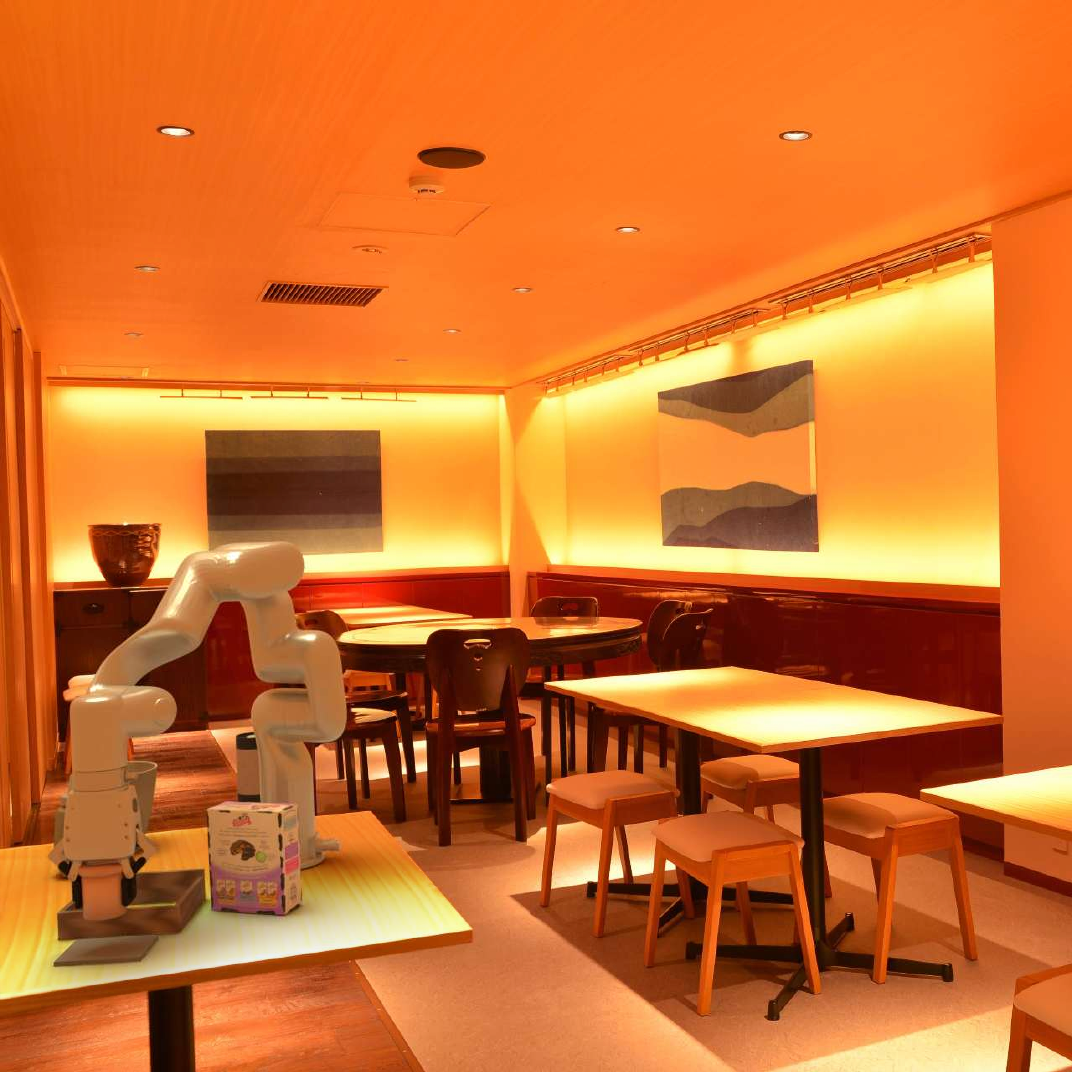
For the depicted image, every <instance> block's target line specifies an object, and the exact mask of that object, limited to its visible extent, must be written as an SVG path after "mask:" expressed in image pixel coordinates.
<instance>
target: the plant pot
mask: <svg viewBox="0 0 1072 1072" xmlns="http://www.w3.org/2000/svg"><path fill="white" fill-rule="evenodd" d="M128 765H129V768H130V770H137V771H138V778H137V780H132V781H130V783H128V785H133V786H135V790H136V794H137V798H138V803H139V809H140V816H141V824H142V833H143V834H144V835H146V832H147V829H148V826H149V821H150V817H151V814H152V808H153V803H154V797H155V791H156V782H157V772H158V764H157V763H156V762H152V761H142V760H141V761H140V760H138V761H137V760H134V761H133V760H132V761H129V760H128ZM140 850H141V849H139V850H138V851H140ZM134 853H137V851H135V852H134Z"/></svg>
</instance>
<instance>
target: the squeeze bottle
mask: <svg viewBox="0 0 1072 1072" xmlns="http://www.w3.org/2000/svg"><path fill="white" fill-rule="evenodd" d="M67 786H68V787H67V791H66V793H64V794H62V795H61V796H60V805H61V806H59V807H58V808H57V809H56V810H55V822H54V835H53V848H54V847H55V846H56V845H57V844H58V843H59V842H60V840H61V839H62V838H63V837H64V820H65V811H66V804H67V798H68V793H69V792H70V791H71V790H73V779H72V773H70V776H69V780H68V785H67ZM63 856H64V857H65V855H64V851H63ZM71 862H72V863H73V861H71ZM56 867H57V869H58V870H57V871H58V872H59V874H60V877H62V878H68V877H67V876H66V875H65V874H64V873H63V872H62V871H61V870H60V869H59V868H58V866H57V865H56Z"/></svg>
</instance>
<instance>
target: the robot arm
mask: <svg viewBox="0 0 1072 1072" xmlns="http://www.w3.org/2000/svg"><path fill="white" fill-rule="evenodd" d="M304 573H305V558H304V556H303V554H302V552H301V550H300V549H299V547H297V546H296V545H295V543H292V542H288V541H285V540H284V541H283V540H282V541H260V542H259V541H256V542H255V541H253V542H250V541H248V542H247V541H246V542H233V543H228V544H222V545H220V546H217V547H216V548H214V550H201V551H196V552H193V553H191V554H188V555H187V556H186V557H185V558H184V559H183V560H182V561H181V563H180V564H179V566H178V568H177V570H176V571H175V573H174V576H173V578H172V580H171V582H170V583H169V585H168V587H167V589H166V590H165V592H164V594H163V597H162V599H161V600H160V602H159V604H158V606H157V608H156V610H155V612H154V614H153V615H152V617H151V619H150V620H149V621H148V623H147V624H146V625H145V626H143V627H142V628H140V629H138V630H137V631H136V632H135V633H133V634H132V635H131V636H129V637H128V638H127V639H126V640H124V641H123V642H122V643H121V644H120V645H118V646H117V647H116V648H115V649H114V650H113V651H112V652H110V654H108V656H107V657H106V658H105V659H104V660H103V661H102V663H101V664H100V666H99V668H98V669H97V671H96V673H95V675H94V677H93V678H92V680H91V682H90V683H89V686H88V688H87V689H86V692H85V694H84V695H79V696H77V697H75V698H74V699H73V700H72V701H71V703H70V706H69V716H70V717H69V718H70V719H69V721H70V743H71V745H70V746H71V747H70V749H71V774H72V779H73V790H71V791H70V792H69V793H68V798H67V804H66V811H65V820H64V837H63V838H62V839H61V840H60V842H59V843H58V844H57V845H56V846H55V847H54V846H53V847H52V849H51V850H50V852H49V853H47V859H48V860H49V861H51V862H52V864H54V865H55V866H56V867H57V866H58V867H57V869H58V868H59V869H60V870H61V871H62V872H63V873H64V874H65V875H66V876H67V877H66V878H67V879H68V881H69V882H71V900H72V901H73V902H75V908H76V909H80V908H82V907H83V905H82V877H81V876H79V874H78V867H81V866H82V864H83V863H86V862H87V861H104V860H118V861H119V863H120V865H123V872H124V878H123V879H122V881H121V883H122V905H123V906H124V907H127V908H128V907H129V906H131V905H130V904H131V903H132V902H133V900H134V898H136V896H137V882H136V873H137V872H140V870H141V869H142V868H143V867H144V866H145V865H146V864H147V863H148V862H149V860H151V858H152V857H153V856H154V855H155V854H157V852H158V851H159V846H157V845H156V844H155V843H154V842H153V841H152V840H151V839H150V838H149V837H148V836H147V835H146V834H145V835H144V834H143V833H142V824H141V816H140V809H139V803H138V798H137V794H136V790H135V786H133V785H128V783H130V781H132V780H137V778H138V771H137V770H130V768H129V765H128V761H129V760H128V740H129V739H134V738H150V737H156V736H158V735H161V734H162V733H164V732H166V731H167V730H169V729H170V727H171V726H172V725H173V723H174V722H175V719H176V717H177V712H178V708H177V707H178V706H177V704H176V701H175V698H174V697H173V695H172V694H171V693H170V692H169V691H168V690H165V689H163V688H161V687H158V686H157V687H156V686H150V685H149V686H148V685H146V686H145V685H136V684H137V683H138V682H139V681H140V679H142V678H143V677H144V676H146V675H147V674H148V673H149V672H151V671H152V670H154V669H157V668H159V667H161V666H162V665H165V664H167V663H169V662H172V661H174V660H177V659H179V658H181V657H183V656H186V655H188V654H189V653H191V652H193V651H195V650H196V649H197V648H198V647H200V645H201V643H202V642H203V639H204V638H205V635H206V633H207V630H208V629H209V626H210V625H211V623H212V622H213V621H212V620H213V618H214V617H215V615H216V612H217V610H218V608H219V606H220V604H223V602H239V603H240V604H241V606H242V608H243V611H244V615H245V619H246V624H247V631H248V638H249V646H250V647H249V648H250V653H251V659H252V665H253V669H254V672H255V675H256V677H257V678H258V679H259V680H261V681H263V682H266V683H272V684H302V685H303V684H304V685H305V688H299V687H298V688H297V687H295V688H294V687H290V688H288V687H280V688H279V687H278V688H271V689H269V690H266V691H263V692H262V693H260V694H259V695H257V697H256V698H255V700H254V701H253V704H252V708H251V711H250V718H251V725H252V730H253V732H254V734H255V738H256V743H257V749H258V757H259V772H260V799H261V803H284V804H298V823H299V843H300V867H301V870H302V869H307V868H311V867H314V866H316V865H318V864H321V863H322V862H323V861H325V858H326V852H327V851H328V852H339V851H340V850H341V840H340V839H336V838H334V837H333V838H322V837H320V831H316V818H315V817H316V816H315V815H316V814H315V792H314V791H315V789H314V788H315V787H314V766H313V761H312V758H311V754H310V752H309V750H308V749H307V747H306V744H305V743H329V742H334V741H337V739H338V738H340V737H341V736H342V734H343V733H344V731H345V729H346V724H347V715H348V713H347V700H346V693H345V684H344V677H343V676H344V675H343V668H342V659H341V654H340V649H339V647H338V644H337V643H336V641H335V640H334V638H333V637H332V636H331V635H330V634H329V633H327V632H325V631H322V630H316V629H315V630H314V629H309V630H307V629H306V630H305V629H303V630H302V629H299V628H298V625H297V620H296V613H295V608H294V603H293V599H292V598H291V595H290V594H289V592H288V591H291V590H292V589H294V588H296V587H297V585H298V584H299V583H300V582H301V580H302V578H303V576H304ZM139 849H140V850H141V849H142V850H143V853H142V854H141V855H140V856H139V857H138V858H137V860H136V857H135V855H134V854H135V853H136V852H139V851H140V850H139ZM63 851H64V855H65V857H64V856H63ZM135 851H136V852H135ZM71 861H73V863H72V862H71Z"/></svg>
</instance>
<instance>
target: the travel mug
mask: <svg viewBox="0 0 1072 1072" xmlns="http://www.w3.org/2000/svg"><path fill="white" fill-rule="evenodd" d="M235 749H236V750H235V752H236V753H235V757H236V758H235V759H236V785H237V789H236V790H237V802H254V803H261V799H260V772H259V757H258V749H257V743H256V738H255V734H254V731H249V732H241V733H238V734H236V736H235Z"/></svg>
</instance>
